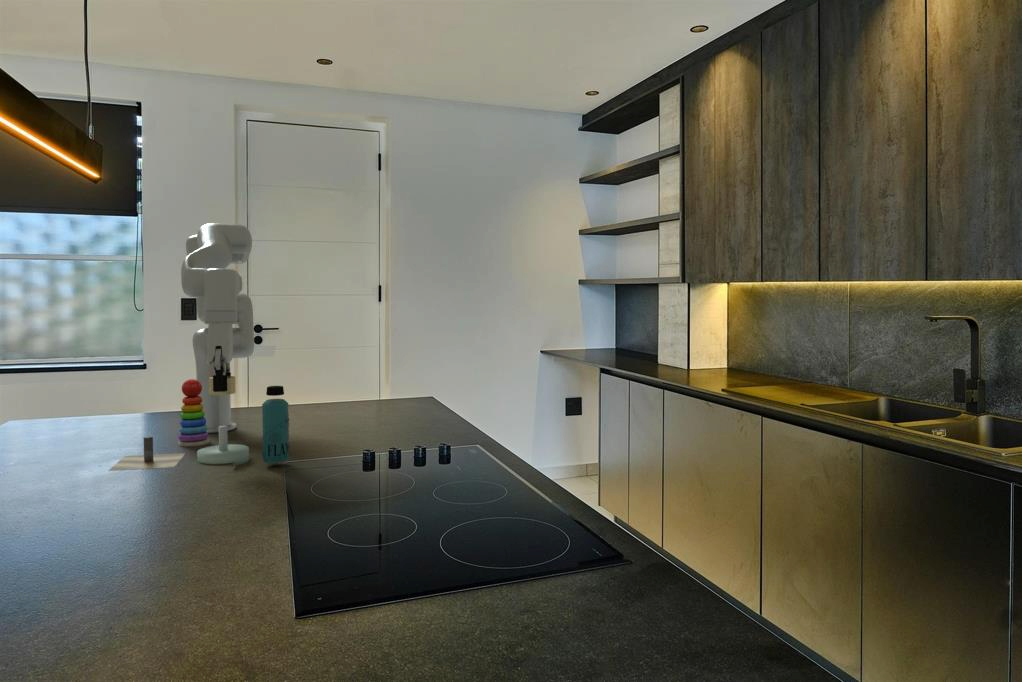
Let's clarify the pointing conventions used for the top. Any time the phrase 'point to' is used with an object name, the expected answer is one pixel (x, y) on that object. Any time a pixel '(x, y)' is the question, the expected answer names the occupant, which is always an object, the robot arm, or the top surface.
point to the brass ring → (230, 386)
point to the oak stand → (147, 459)
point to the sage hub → (223, 451)
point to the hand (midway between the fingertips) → (222, 388)
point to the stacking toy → (192, 416)
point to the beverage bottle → (275, 427)
